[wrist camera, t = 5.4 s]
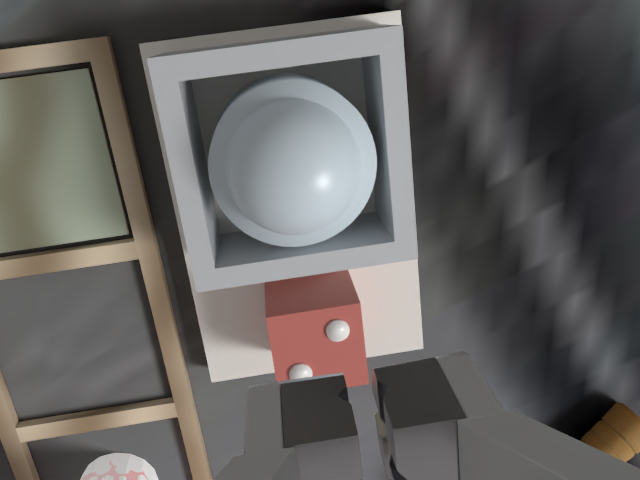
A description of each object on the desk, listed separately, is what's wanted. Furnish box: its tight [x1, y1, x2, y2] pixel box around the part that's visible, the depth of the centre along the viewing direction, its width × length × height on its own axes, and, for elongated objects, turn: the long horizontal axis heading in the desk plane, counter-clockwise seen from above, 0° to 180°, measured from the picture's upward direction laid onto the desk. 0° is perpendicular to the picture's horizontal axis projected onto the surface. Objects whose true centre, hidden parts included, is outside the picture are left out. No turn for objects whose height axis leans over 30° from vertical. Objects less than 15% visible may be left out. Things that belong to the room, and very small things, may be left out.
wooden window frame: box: [0, 36, 212, 480], centre depth 33 cm, size 11×31×1 cm, turn 7°
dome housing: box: [139, 10, 423, 387], centre depth 29 cm, size 12×18×6 cm, turn 7°
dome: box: [208, 73, 377, 247], centre depth 25 cm, size 7×7×7 cm
